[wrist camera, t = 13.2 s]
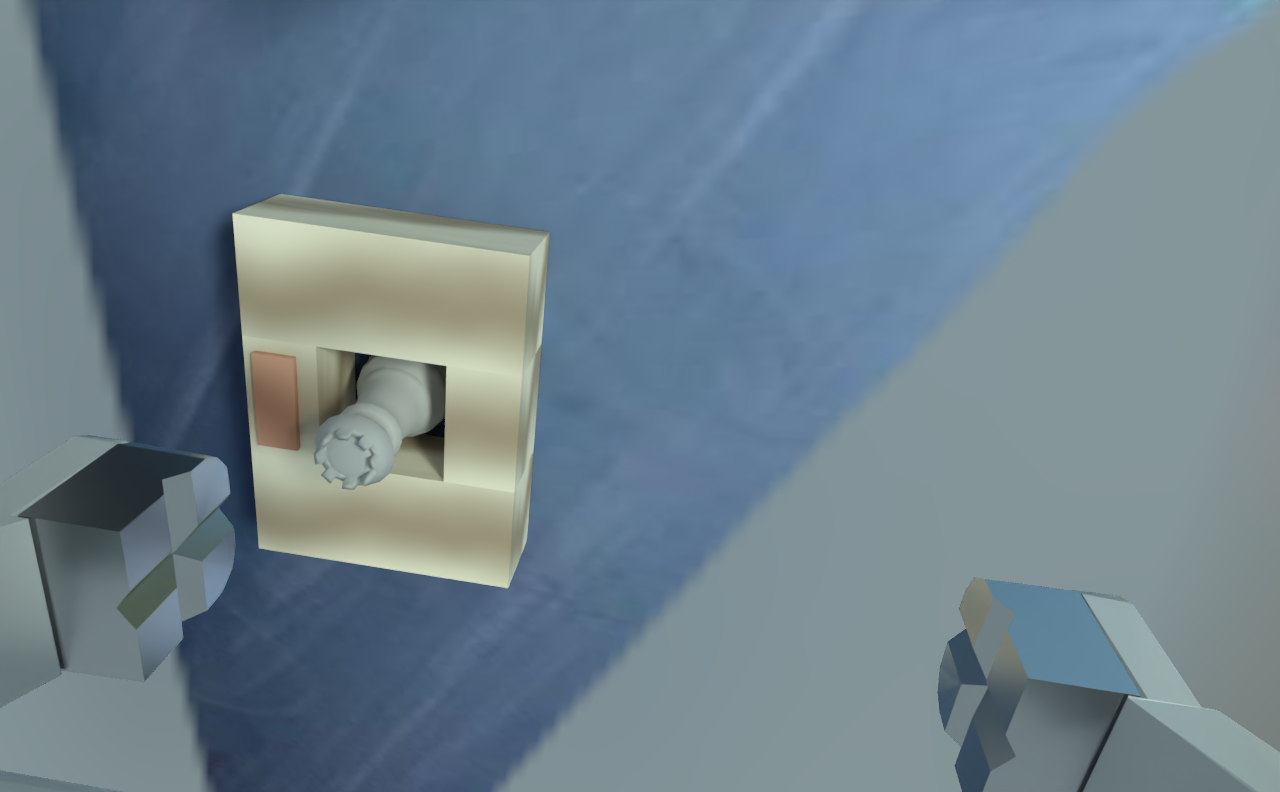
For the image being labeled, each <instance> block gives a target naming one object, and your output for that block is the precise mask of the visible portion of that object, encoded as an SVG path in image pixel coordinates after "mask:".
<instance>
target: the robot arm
mask: <svg viewBox="0 0 1280 792" xmlns="http://www.w3.org/2000/svg"><path fill="white" fill-rule="evenodd" d="M229 494H230V486H229V479H228V472H227V467H226V466H225V465H224V464H223V463H222V462H221V461H220V460H219V459H218V458H217V457H213V456H207V455H202V454H196V453H190V452H185V451H179V450H173V449H168V448H162V447H157V446H151V445H145V444H140V443H134V442H130V443H129V442H127V441H124V440H118V439H111V438H103V437H97V436H90V435H88V436H73V437H71V438H70V439H69V440H67V441H65V442H64V443H62V444H61V445H59V446H58V447H56V448H54V449H53V450H51V451H50V452H48V453H47V454H45V455H44V456H42V457H41V458H39V459H37V460H36V461H34V462H33V463H31V464H30V465H28V466H27V467H25V468H24V469H22V470H20V471H19V472H17V473H16V474H14V475H13V476H11V477H10V478H8V479H7V480H5V481H3V482H2V483H0V708H1V707H3V706H5V705H6V704H8V703H10V702H12V701H14V700H16V699H18V698H20V697H21V696H23V695H25V694H27V693H29V692H31V691H33V690H34V689H36V688H38V687H40V686H42V685H44V684H46V683H47V682H49V681H51V680H53V679H55V678H57V677H59V676H60V675H61V674H62V673H61V671H68V672H76V673H82V674H90V675H97V676H104V677H111V678H119V679H126V680H133V681H140V682H145V681H146V680H147V679H148V678H149V676H150V675H151V674H152V673H153V672H154V671H155V670H156V668H157V667H158V666H159V665H160V664H161V663H162V662H163V660H164V659H165V658H166V657H167V656H168V655H169V654H170V652H171V651H172V650H173V649H174V648H175V647H176V646H177V645H178V643H179V642H180V641H181V640H182V639H183V632H182V624H181V622H182V621H184V620H186V619H188V618H191V617H193V616H195V615H198V614H200V613H202V612H204V611H207V610H208V609H209V608H210V606H211V605H212V604H213V603H214V601H215V600H216V599H217V598H218V597H219V595H220V594H221V593H222V591H223V589H224V587H225V584H226V582H227V580H228V577H229V575H230V572H231V570H232V568H233V561H234V553H235V536H234V527H233V526H232V525H231V523H230V522H229V521H228V519H227V518H226V517H225V516H224V514H223V513H222V512H221V511H220V509H219V507H220V506H221V504H222V503H223V502H224V501H225V499H226V498H227V497H228V496H229ZM959 610H960V613H961V615H962V618H963V621H964V624H965V627H966V629H965V630H964V631H962V632H961V633H959V634H958V635H956V636H955V637H954V638H952V639H951V640H949V641H948V643H947V645H946V649H945V652H944V655H943V659H942V662H941V665H940V673H939V684H938V700H939V710H940V714H941V718H942V723H943V726H944V730H945V732H946V733H947V734H948V735H949V736H950V737H951V738H953V740H954V741H955V742H956V743H958V745H960V747H961V750H960V753H959V756H958V758H957V761H956V764H955V768H956V772H957V775H958V778H959V782H960V785H961V789H962V792H1280V753H1279V752H1278V751H1277V750H1275V749H1274V748H1272V747H1271V746H1269V745H1268V744H1266V743H1265V742H1264V741H1262V740H1261V739H1259V738H1257V737H1256V736H1255V735H1253V734H1252V733H1250V732H1249V731H1247V730H1246V729H1245V728H1243V727H1242V726H1240V725H1239V724H1237V723H1236V722H1234V721H1233V720H1231V719H1230V718H1229V717H1227V716H1225V715H1224V714H1223V713H1221V712H1220V711H1218V710H1213V709H1207V708H1201V706H1200V705H1199V703H1198V702H1197V700H1196V699H1195V697H1194V695H1193V694H1192V693H1191V691H1190V690H1189V688H1188V686H1187V685H1186V684H1185V682H1184V680H1183V679H1182V678H1181V676H1180V674H1179V673H1178V672H1177V670H1176V669H1175V667H1174V665H1173V664H1172V662H1171V661H1170V659H1169V658H1168V656H1167V655H1166V654H1165V652H1164V650H1163V649H1162V647H1161V646H1160V645H1159V643H1158V641H1157V640H1156V638H1155V637H1154V636H1153V634H1152V632H1151V631H1150V629H1149V628H1148V626H1147V625H1146V623H1145V622H1144V620H1143V619H1142V618H1141V616H1140V615H1139V613H1138V611H1137V610H1136V608H1135V607H1134V605H1132V603H1131V602H1129V601H1128V600H1126V599H1125V598H1123V597H1121V596H1117V595H1109V594H1100V593H1093V592H1084V591H1076V590H1064V589H1057V588H1049V587H1042V586H1034V585H1027V584H1019V583H1012V582H1005V581H997V580H990V579H983V578H973V580H972V581H971V583H970V584H969V586H968V587H967V589H966V590H965V593H964V596H963V599H962V602H961V604H960V607H959ZM0 792H122V791H117V790H110V789H105V788H99V787H93V786H88V785H82V784H76V783H70V782H65V781H59V780H53V779H47V778H41V777H36V776H30V775H24V774H18V773H13V772H6V771H1V770H0Z"/></svg>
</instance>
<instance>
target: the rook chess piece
mask: <svg viewBox="0 0 1280 792" xmlns="http://www.w3.org/2000/svg"><path fill="white" fill-rule="evenodd" d="M357 395H358V400H357V402H356V404H354V405H351V406H348V407H347V408H346V409H345V410H344V411H343V412H342V413H340V415H337V416H333V417H330V418H328V419H327V420H326V421H325V422H324V423H323V424H322V425H321V426H320V427H319V430H318V432H317V435H316V438H315V444H316V451H315V453H314V461H315V465H316V464H323V466H324V468H325V469H326V470H325V471H324V472H323V473H322V474H321V476H322V477H323V478H325V479H326V480H327V481H328V482H329V483H331V482H332V481H333V480H334V478H336V479H339V480H341V481H343V483H342V489H350V490H354V489H355V488H356V487H357V485H361V486H364V487H365V486H367V485H371V484H374V483H378V482H380V481H381V480H382V479H384V478H385V477H386V476H387V475H388V474H389V473H390V471H391V469H392V466H393V464H394V461H395V460H394V456H395V455H396V454H397V453H398V451H399V449H400V446H401V444H402V439H403V438H404V437H408V436H409V437H412V436H416V435H419V434H423V433H426V432H428V431H431V430H432V429H433V428H434V427H435V426H436V425H438V424H439V423H440V422H441V421H442V420H443V418H444V417H445V404H446V366H443V365H436V364H430V363H423V362H416V361H409V360H403V359H396V358H389V357H383V356H376V355H371V356H370V357H369V359H368V362H367V363H365V364H364V365H363V367H362V370H361V373H360V376H359V378H358V381H357Z"/></svg>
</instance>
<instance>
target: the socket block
mask: <svg viewBox="0 0 1280 792" xmlns="http://www.w3.org/2000/svg"><path fill="white" fill-rule="evenodd" d="M232 214H233V227H234V239H235V252H236V265H237V277H238V290H239V302H240V315H241V328H242V340H243V353H244V365H245V378H246V390H247V403H248V416H249V428H250V441H251V453H252V466H253V479H254V491H255V504H256V516H257V529H258V541H259V548H260V549H267V550H273V551H279V552H285V553H292V554H298V555H304V556H310V557H317V558H323V559H329V560H335V561H342V562H348V563H354V564H360V565H367V566H373V567H379V568H386V569H392V570H398V571H404V572H411V573H417V574H423V575H429V576H436V577H442V578H448V579H454V580H461V581H467V582H473V583H479V584H486V585H492V586H498V587H504V588H508V587H509V584H510V582H511V579H512V577H513V574H514V572H515V569H516V567H517V564H518V562H519V559H520V557H521V554H522V552H523V549H524V546H525V544H526V541H527V532H528V518H529V505H530V492H531V478H532V465H533V451H534V438H535V424H536V411H537V398H538V384H539V371H540V357H541V344H542V330H543V317H544V303H545V290H546V277H547V263H548V250H549V236H550V232H546V231H539V230H532V229H525V228H518V227H511V226H504V225H497V224H490V223H483V222H476V221H469V220H461V219H454V218H447V217H440V216H433V215H426V214H419V213H412V212H405V211H398V210H391V209H384V208H377V207H369V206H362V205H355V204H348V203H341V202H334V201H327V200H320V199H313V198H306V197H299V196H292V195H285V194H279V195H277V196H274V197H272V198H269V199H267V200H264V201H262V202H259V203H257V204H254V205H252V206H249V207H247V208H245V209H242V210H240V211H237V212H235V213H232ZM355 352H356V353H362V354H369V355H376V356H383V357H389V358H396V359H403V360H409V361H416V362H423V363H430V364H436V365H443V366H446V404H445V437H439V436H433V435H426V434H419V435H416V436H412V437H409V436H408V437H404V438H403V439H402V444H401V446H400V449H399V451H398V453H397V454H396V455H395V456H394V460H395V461H394V464H393V466H392V469H391V471H390V473H389V474H388V475H387V476H386V477H385V478H384V479H382V480H381V481H380V482H378V483H374V484H371V485H367V486H365V487H364V486H361V485H357V487H356V488H355V489H354V490H350V489H342V483H343V481H341V480H339V479H336V478H334V480H333V481H332V482H331V483H329V482H328V481H327V480H326V479H325V478H323V477H322V476H321V474H322V473H323V472H324V471H325V470H326V469H325V468H324V466H323V464H316V465H315V461H314V453H315V451H316V444H315V438H316V435H317V432H318V430H319V427H320V426H321V425H322V424H323V423H324V422H325V421H326V420H327V419H328V418H330V417H333V416H337V415H340V413H342V412H343V411H344V410H345V409H346V408H347V407H348V406H351V405H354V404H356V381H355Z"/></svg>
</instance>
